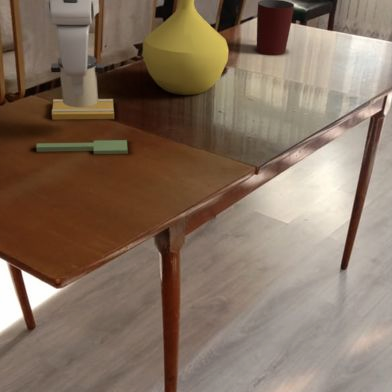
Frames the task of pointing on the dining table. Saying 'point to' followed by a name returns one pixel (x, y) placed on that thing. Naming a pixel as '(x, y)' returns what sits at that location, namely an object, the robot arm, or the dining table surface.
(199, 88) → the vase
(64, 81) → the pot
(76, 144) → the spatula
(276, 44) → the mug
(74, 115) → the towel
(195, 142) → the dining table surface
